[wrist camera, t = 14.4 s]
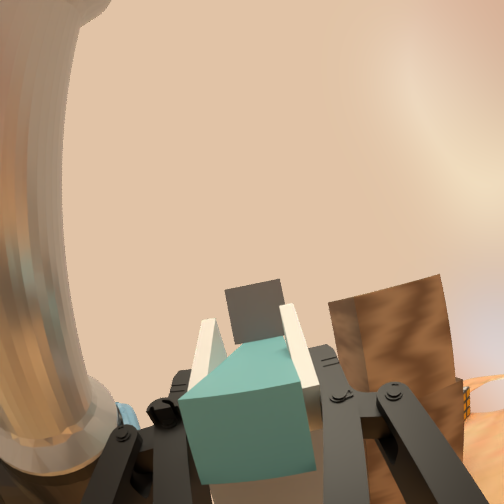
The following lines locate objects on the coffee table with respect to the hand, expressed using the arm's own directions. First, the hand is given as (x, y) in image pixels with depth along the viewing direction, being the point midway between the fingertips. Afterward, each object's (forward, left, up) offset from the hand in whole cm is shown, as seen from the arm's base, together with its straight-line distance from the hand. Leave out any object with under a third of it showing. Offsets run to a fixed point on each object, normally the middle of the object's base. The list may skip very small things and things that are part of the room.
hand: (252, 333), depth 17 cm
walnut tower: (+14, +18, -27) cm, 36 cm away
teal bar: (0, +3, -4) cm, 5 cm away
